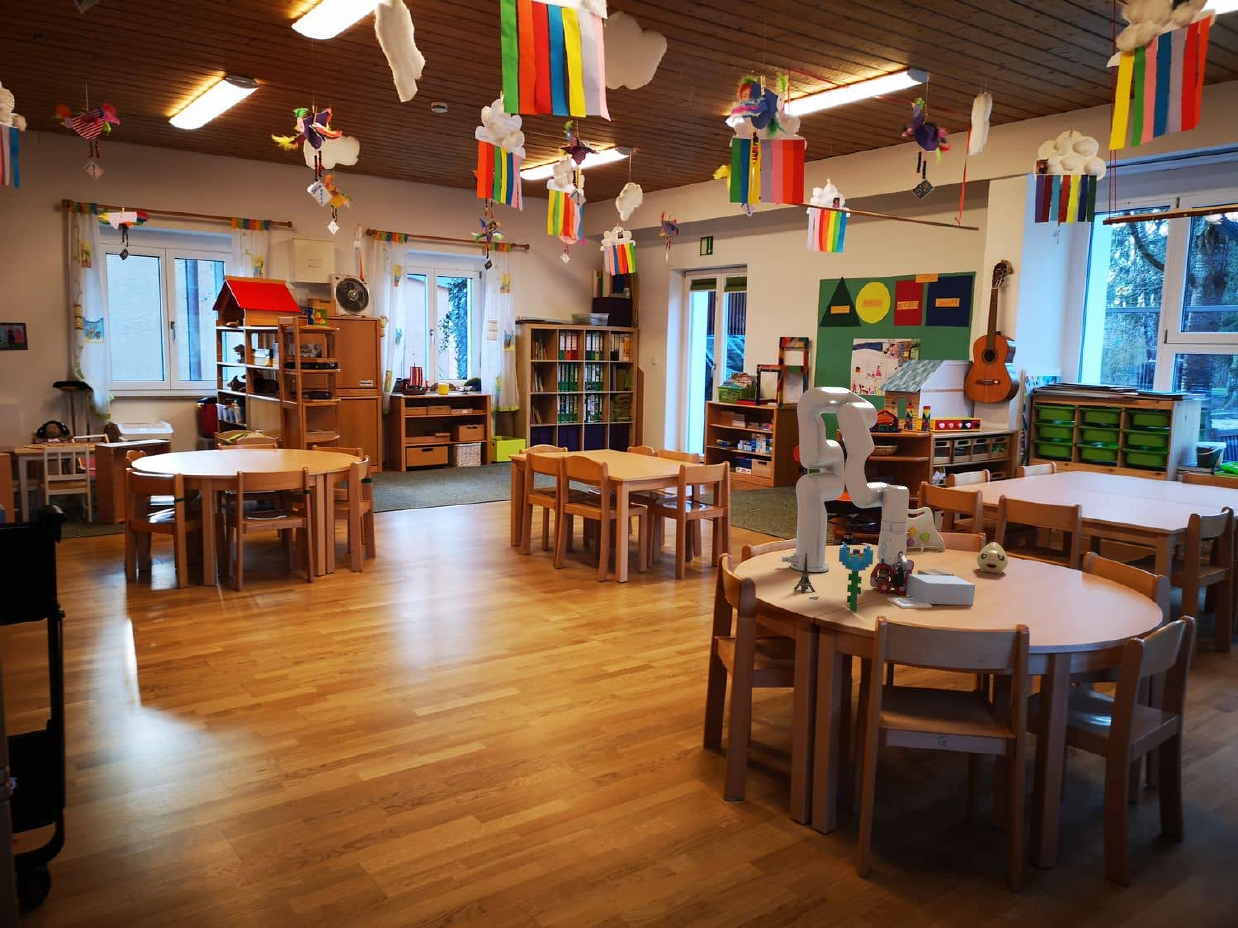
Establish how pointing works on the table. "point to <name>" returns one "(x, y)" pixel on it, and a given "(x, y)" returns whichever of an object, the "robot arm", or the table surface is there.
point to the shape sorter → (923, 532)
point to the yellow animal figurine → (992, 558)
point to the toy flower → (855, 570)
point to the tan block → (934, 572)
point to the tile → (909, 603)
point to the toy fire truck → (883, 580)
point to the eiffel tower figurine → (805, 580)
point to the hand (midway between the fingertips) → (890, 582)
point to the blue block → (940, 589)
